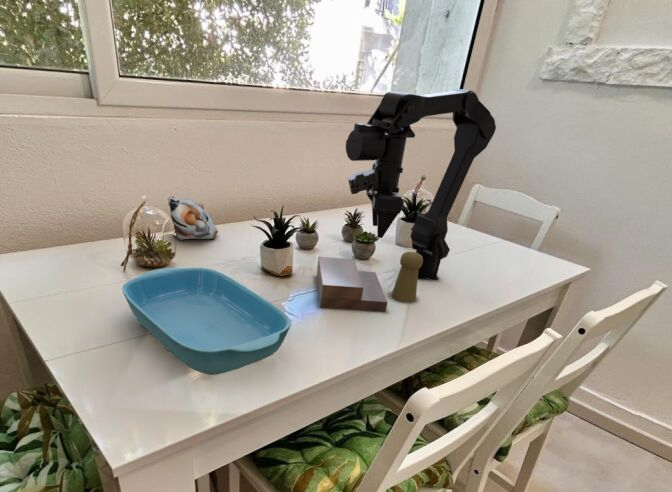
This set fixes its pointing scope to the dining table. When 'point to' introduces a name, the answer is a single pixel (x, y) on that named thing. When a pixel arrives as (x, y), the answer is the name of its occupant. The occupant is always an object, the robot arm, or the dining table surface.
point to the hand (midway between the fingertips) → (377, 231)
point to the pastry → (284, 272)
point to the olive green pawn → (407, 278)
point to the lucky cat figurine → (191, 220)
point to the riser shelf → (348, 286)
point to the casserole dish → (206, 318)
